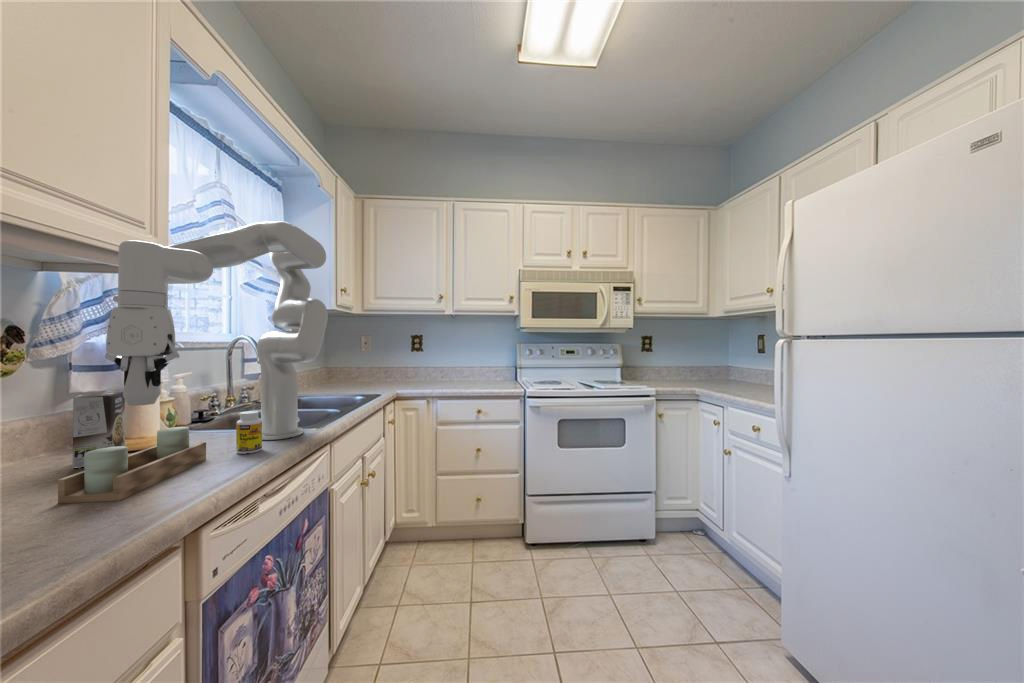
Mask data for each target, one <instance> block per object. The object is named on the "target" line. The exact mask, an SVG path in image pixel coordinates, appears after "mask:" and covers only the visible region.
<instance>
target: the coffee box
mask: <svg viewBox="0 0 1024 683" xmlns="http://www.w3.org/2000/svg"><path fill="white" fill-rule="evenodd" d="M72 399H73V402H72V469H73V468H75V467H84V454H85V453H86V452H88V451H92V450H96V449H101V448H107V447H118V446H125V447H126V444H125V443H126V437H125V436H126V434H125V433H126V431H125V429H126V426H125V422H126V420H125V416H126V414H125V413H126V412H125V411H126V410H125V407H126V404H125V403H126V400H125V398H124V397H123V391H110V392H109V391H107V392H98V393H97V392H96V393H95V392H94V393H88V394H83V395H80V396H75V397H73V398H72Z"/></svg>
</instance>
